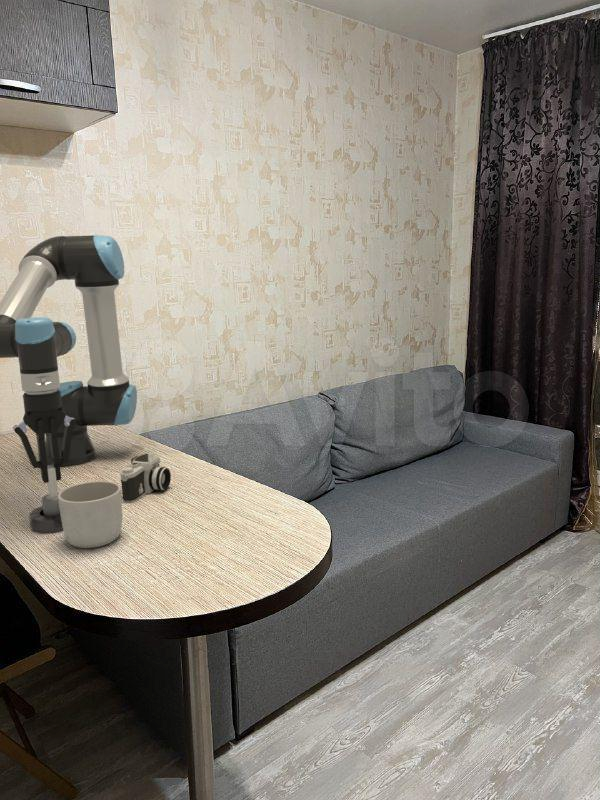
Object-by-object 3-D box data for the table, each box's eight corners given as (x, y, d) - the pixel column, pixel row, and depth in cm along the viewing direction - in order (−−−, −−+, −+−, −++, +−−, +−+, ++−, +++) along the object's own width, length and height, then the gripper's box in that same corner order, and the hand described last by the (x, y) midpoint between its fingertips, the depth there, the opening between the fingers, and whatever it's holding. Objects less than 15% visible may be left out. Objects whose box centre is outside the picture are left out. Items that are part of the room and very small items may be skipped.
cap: (42, 520, 140) (39, 495, 138) (65, 515, 142) (63, 490, 141) (47, 528, 135) (44, 502, 134) (70, 523, 138) (68, 497, 137)
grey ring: (27, 520, 141) (26, 508, 140) (75, 510, 146) (74, 498, 145) (35, 537, 132) (34, 524, 131) (86, 525, 137) (85, 513, 137)
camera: (149, 505, 148) (146, 465, 146) (117, 503, 151) (113, 463, 148) (178, 482, 163) (175, 446, 161) (148, 480, 166) (145, 444, 163)
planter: (76, 527, 137) (71, 480, 134) (132, 527, 136) (128, 480, 134) (53, 553, 124) (47, 502, 122) (114, 553, 124) (109, 502, 122)
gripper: (10, 397, 126) (24, 506, 131) (77, 389, 133) (87, 493, 138) (5, 391, 132) (19, 496, 137) (69, 384, 139) (79, 484, 144)
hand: (53, 494), depth 137 cm, fingers closed, pressing on cap
